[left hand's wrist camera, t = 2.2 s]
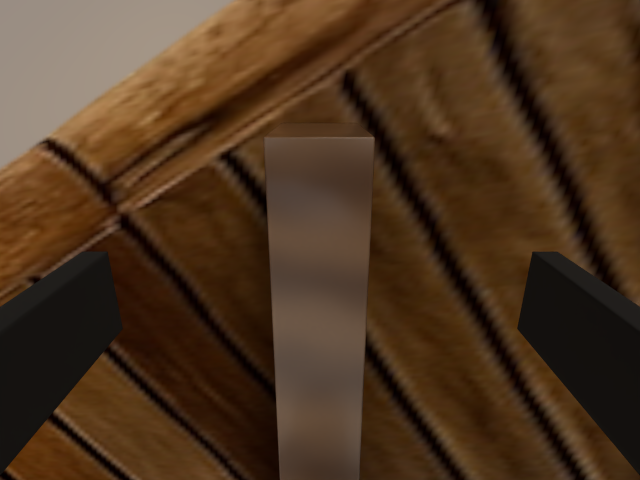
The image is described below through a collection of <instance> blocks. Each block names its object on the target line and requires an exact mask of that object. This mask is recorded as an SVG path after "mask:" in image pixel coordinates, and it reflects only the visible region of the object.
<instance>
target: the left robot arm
mask: <svg viewBox="0 0 640 480" xmlns="http://www.w3.org/2000/svg"><path fill="white" fill-rule="evenodd" d="M122 329H123V328H122V323H121V318H120V313H119V308H118V303H117V298H116V293H115V288H114V283H113V277H112V272H111V267H110V262H109V257H108V252H82V253H80V254H79V255H77V256H76V257H74V258H73V259H71V260H70V261H68V262H67V263H65V264H64V265H62V266H61V267H59V268H58V269H56V270H55V271H53V272H52V273H50V274H49V275H47V276H46V277H44V278H43V279H41V280H40V281H38V282H37V283H35V284H34V285H32V286H31V287H29V288H28V289H26V290H25V291H23V292H22V293H20V294H19V295H17V296H16V297H14V298H13V299H11V300H10V301H8V302H7V303H5V304H4V305H2V306H1V307H0V475H1V474H2V472H3V471H4V470H5V469H6V468H7V466H8V465H9V464H10V463H11V462H12V460H13V459H14V458H15V457H16V456H17V454H18V453H19V452H20V451H21V450H22V448H23V447H24V446H25V445H26V444H27V443H28V441H29V440H30V439H31V438H32V437H33V435H34V434H35V433H36V432H37V431H38V429H39V428H40V427H41V426H42V425H43V423H44V422H45V421H46V420H47V419H48V417H49V416H50V415H51V414H52V413H53V411H54V410H55V409H56V408H57V407H58V405H59V404H60V403H61V402H62V401H63V399H64V398H65V397H66V396H67V395H68V393H69V392H70V391H71V390H72V389H73V388H74V386H75V385H76V384H77V383H78V382H79V380H80V379H81V378H82V377H83V376H84V374H85V373H86V372H87V371H88V370H89V368H90V367H91V366H92V365H93V364H94V362H95V361H96V360H97V359H98V358H99V356H100V355H101V354H102V353H103V352H104V350H105V349H106V348H107V347H108V346H109V344H110V343H111V342H112V341H113V340H114V338H115V337H116V336H117V335H118V334H119V333H120V331H121V330H122ZM517 329H518V330H519V331H520V333H521V334H522V335H523V336H524V337H525V338H526V340H527V341H528V342H529V343H530V344H531V346H532V347H533V348H534V349H535V350H536V352H537V353H538V354H539V355H540V356H541V358H542V359H543V360H544V361H545V362H546V364H547V365H548V366H549V367H550V368H551V370H552V371H553V372H554V373H555V374H556V376H557V377H558V378H559V379H560V380H561V382H562V383H563V384H564V385H565V386H566V388H567V389H568V390H569V391H570V392H571V393H572V395H573V396H574V397H575V398H576V399H577V401H578V402H579V403H580V404H581V405H582V407H583V408H584V409H585V410H586V411H587V413H588V414H589V415H590V416H591V417H592V419H593V420H594V421H595V422H596V423H597V425H598V426H599V427H600V428H601V429H602V431H603V432H604V433H605V434H606V435H607V437H608V438H609V439H610V440H611V441H612V443H613V444H614V445H615V446H616V447H617V448H618V450H619V451H620V452H621V453H622V454H623V456H624V457H625V458H626V459H627V460H628V462H629V463H630V464H631V465H632V466H633V468H634V469H635V470H636V471H637V472H638V474H639V475H640V307H639V306H638V305H636V304H635V303H633V302H632V301H630V300H629V299H627V298H626V297H624V296H623V295H621V294H620V293H618V292H617V291H615V290H614V289H612V288H611V287H609V286H608V285H606V284H605V283H603V282H602V281H600V280H599V279H597V278H596V277H594V276H593V275H591V274H590V273H588V272H587V271H585V270H584V269H582V268H581V267H579V266H578V265H576V264H575V263H573V262H572V261H570V260H569V259H567V258H566V257H564V256H563V255H561V254H560V253H558V252H532V257H531V262H530V267H529V272H528V277H527V283H526V288H525V293H524V298H523V303H522V308H521V313H520V318H519V323H518V328H517Z"/></svg>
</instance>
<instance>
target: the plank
mask: <svg viewBox="0 0 640 480" xmlns="http://www.w3.org/2000/svg"><path fill="white" fill-rule="evenodd" d="M374 147H375V137H373V136H372V135H371V134H370V133H369V132H367V131H366V130H365V129H364V128H362V127H361V126H360V125H359V124H358V123H281V124H280V125H279V126H278V127H276V128H275V129H274V130H273V131H271V132H270V133H269V134H268V135H266V136H265V137H264V156H265V177H266V198H267V219H268V240H269V261H270V282H271V303H272V324H273V345H274V367H275V388H276V409H277V430H278V451H279V472H280V480H359V471H360V449H361V428H362V406H363V384H364V363H365V341H366V320H367V298H368V277H369V255H370V233H371V212H372V190H373V169H374Z"/></svg>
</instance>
